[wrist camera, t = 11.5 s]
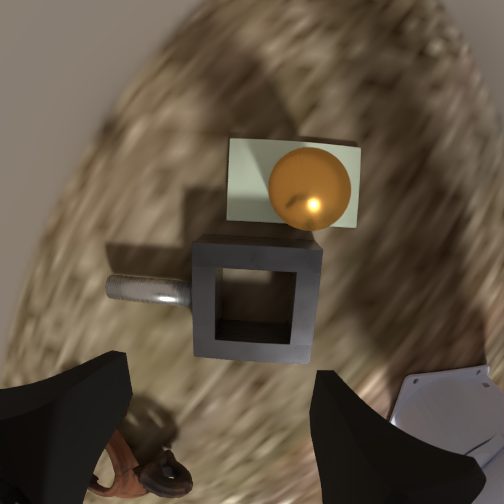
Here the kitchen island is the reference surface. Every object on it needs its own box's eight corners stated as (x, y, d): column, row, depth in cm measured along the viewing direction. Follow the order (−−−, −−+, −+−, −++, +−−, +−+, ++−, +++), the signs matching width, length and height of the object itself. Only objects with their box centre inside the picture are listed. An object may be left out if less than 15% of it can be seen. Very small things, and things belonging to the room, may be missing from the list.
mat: (358, 148, 18) (360, 147, 18) (354, 227, 19) (356, 227, 19) (230, 139, 18) (230, 138, 18) (227, 219, 19) (226, 220, 19)
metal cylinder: (320, 215, 19) (348, 232, 12) (267, 213, 19) (266, 228, 12) (322, 163, 18) (352, 150, 11) (269, 160, 18) (269, 144, 11)
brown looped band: (116, 465, 26) (62, 483, 18) (114, 390, 28) (54, 396, 21) (212, 500, 22) (166, 539, 15) (215, 416, 25) (162, 440, 17)
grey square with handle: (314, 240, 19) (323, 249, 16) (304, 341, 21) (309, 363, 18) (118, 230, 20) (96, 237, 17) (124, 325, 21) (107, 343, 18)
